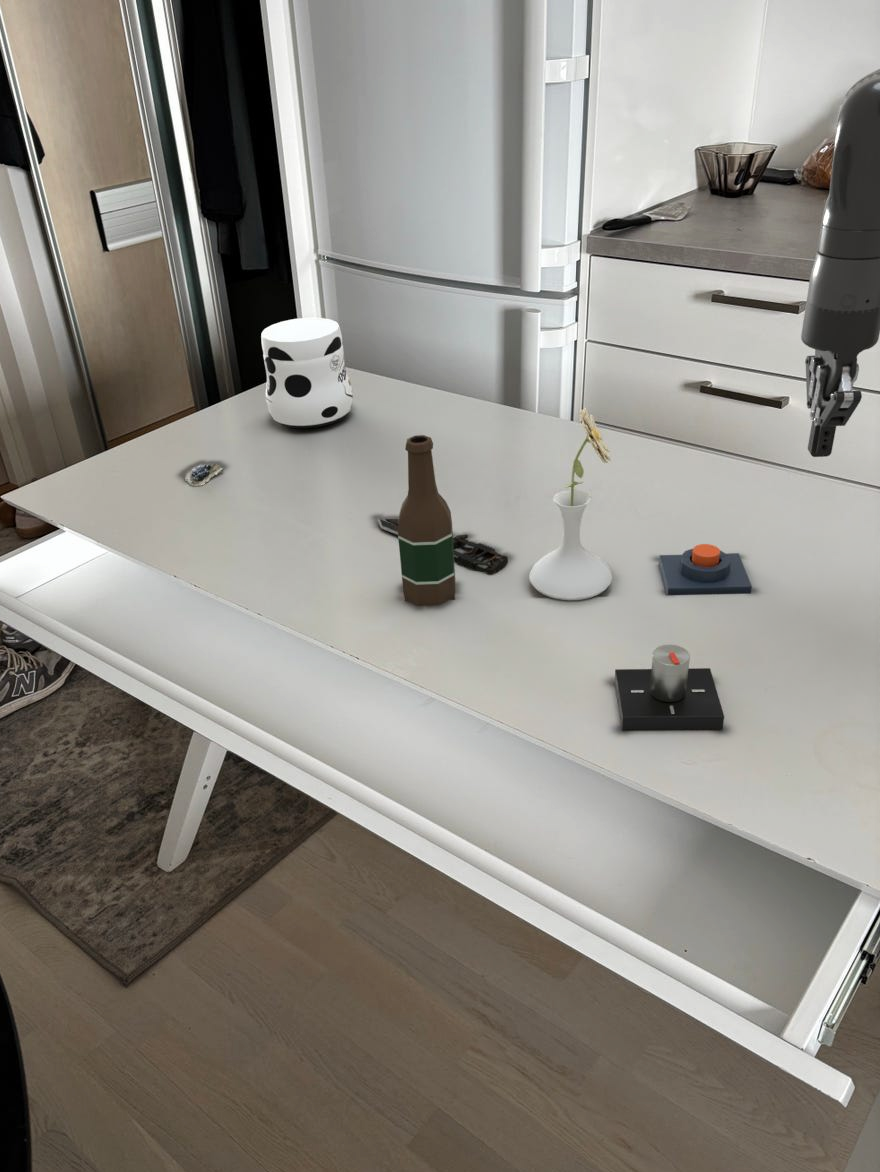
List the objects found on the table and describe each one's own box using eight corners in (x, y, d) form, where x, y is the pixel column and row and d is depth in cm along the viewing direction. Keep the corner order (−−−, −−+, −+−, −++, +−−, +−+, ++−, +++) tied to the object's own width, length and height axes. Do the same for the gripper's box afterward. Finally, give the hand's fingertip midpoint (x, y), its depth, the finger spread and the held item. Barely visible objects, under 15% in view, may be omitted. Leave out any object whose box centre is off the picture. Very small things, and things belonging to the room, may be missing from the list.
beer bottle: (417, 579, 143) (404, 424, 129) (466, 588, 140) (458, 430, 126) (393, 607, 137) (377, 447, 124) (444, 617, 134) (433, 454, 120)
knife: (371, 526, 158) (370, 519, 157) (401, 512, 161) (400, 504, 160) (482, 580, 141) (482, 572, 140) (513, 563, 144) (513, 555, 144)
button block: (737, 563, 140) (740, 541, 138) (750, 597, 132) (753, 574, 130) (658, 565, 141) (660, 543, 139) (667, 598, 133) (669, 576, 131)
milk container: (372, 413, 198) (363, 323, 187) (309, 442, 188) (296, 349, 178) (315, 396, 208) (303, 311, 198) (252, 423, 198) (236, 334, 188)
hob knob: (645, 683, 114) (648, 644, 111) (678, 679, 114) (682, 640, 111) (656, 704, 110) (659, 665, 107) (690, 699, 111) (695, 660, 107)
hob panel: (707, 688, 117) (710, 666, 115) (721, 737, 109) (724, 715, 108) (613, 689, 118) (615, 668, 116) (621, 737, 111) (622, 716, 109)
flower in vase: (594, 615, 131) (602, 441, 117) (516, 598, 136) (514, 429, 122) (626, 569, 141) (636, 402, 126) (552, 554, 146) (554, 393, 131)
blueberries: (228, 467, 181) (226, 458, 180) (214, 486, 175) (212, 477, 174) (193, 467, 182) (191, 458, 181) (178, 486, 176) (176, 477, 175)
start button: (716, 554, 136) (717, 543, 135) (721, 567, 133) (722, 556, 132) (689, 555, 136) (690, 544, 135) (693, 568, 133) (695, 557, 132)
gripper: (906, 314, 94) (871, 478, 104) (865, 277, 105) (837, 429, 115) (825, 318, 95) (798, 480, 105) (792, 281, 106) (770, 432, 116)
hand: (818, 453), depth 110 cm, fingers closed
